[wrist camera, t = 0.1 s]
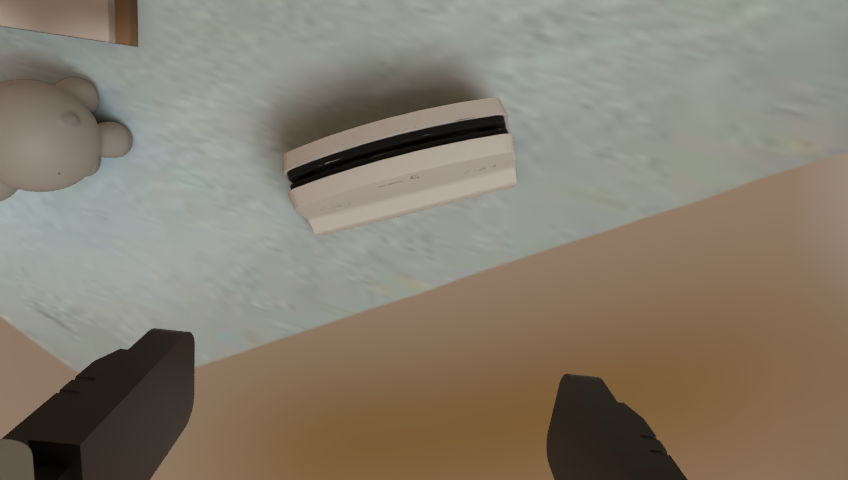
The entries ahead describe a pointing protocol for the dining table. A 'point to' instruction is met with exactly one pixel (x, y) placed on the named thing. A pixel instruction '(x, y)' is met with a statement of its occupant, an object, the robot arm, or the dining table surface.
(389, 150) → the white striped curved block
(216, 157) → the dining table surface
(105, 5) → the base
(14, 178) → the chubby cartoon animal
